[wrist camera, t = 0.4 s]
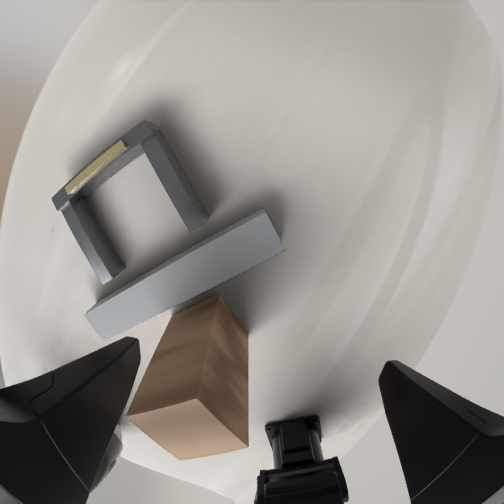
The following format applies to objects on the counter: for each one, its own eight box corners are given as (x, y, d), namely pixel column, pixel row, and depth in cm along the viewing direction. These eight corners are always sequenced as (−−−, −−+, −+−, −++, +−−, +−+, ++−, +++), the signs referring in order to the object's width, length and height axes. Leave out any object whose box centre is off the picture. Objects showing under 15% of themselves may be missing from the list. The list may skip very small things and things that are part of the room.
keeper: (209, 217, 21) (202, 226, 18) (115, 274, 22) (98, 289, 19) (158, 126, 19) (142, 119, 16) (71, 194, 20) (48, 199, 17)
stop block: (248, 336, 24) (248, 447, 13) (202, 355, 25) (180, 460, 13) (219, 292, 23) (196, 398, 11) (172, 315, 23) (125, 416, 12)
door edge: (281, 241, 22) (285, 250, 19) (114, 327, 24) (103, 341, 21) (263, 207, 21) (265, 212, 18) (96, 302, 23) (84, 314, 21)
